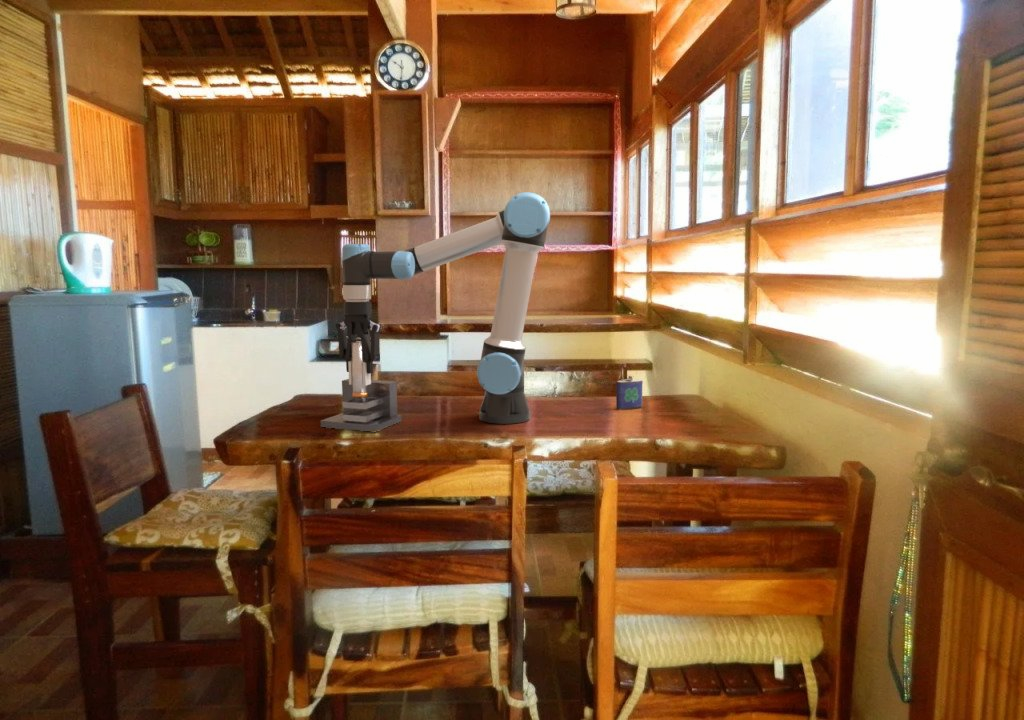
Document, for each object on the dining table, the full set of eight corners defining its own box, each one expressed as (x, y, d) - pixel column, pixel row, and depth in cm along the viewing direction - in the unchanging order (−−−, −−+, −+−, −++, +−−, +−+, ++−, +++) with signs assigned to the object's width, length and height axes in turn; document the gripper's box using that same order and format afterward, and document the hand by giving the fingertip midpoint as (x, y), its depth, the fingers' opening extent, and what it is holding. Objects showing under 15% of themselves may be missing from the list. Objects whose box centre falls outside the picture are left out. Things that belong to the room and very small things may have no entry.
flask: (639, 406, 220) (640, 373, 219) (644, 408, 217) (645, 375, 216) (614, 408, 217) (614, 375, 215) (619, 410, 214) (619, 377, 212)
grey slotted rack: (401, 421, 200) (400, 371, 198) (375, 432, 187) (374, 378, 185) (349, 417, 206) (347, 368, 204) (320, 427, 193) (318, 375, 191)
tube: (371, 404, 193) (369, 341, 191) (362, 407, 189) (360, 343, 187) (358, 403, 195) (356, 341, 192) (350, 406, 191) (347, 342, 188)
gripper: (391, 300, 189) (393, 384, 192) (339, 299, 195) (342, 380, 198) (376, 301, 182) (379, 388, 185) (323, 300, 188) (326, 384, 191)
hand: (360, 384), depth 191 cm, fingers closed on tube, 4 cm apart
